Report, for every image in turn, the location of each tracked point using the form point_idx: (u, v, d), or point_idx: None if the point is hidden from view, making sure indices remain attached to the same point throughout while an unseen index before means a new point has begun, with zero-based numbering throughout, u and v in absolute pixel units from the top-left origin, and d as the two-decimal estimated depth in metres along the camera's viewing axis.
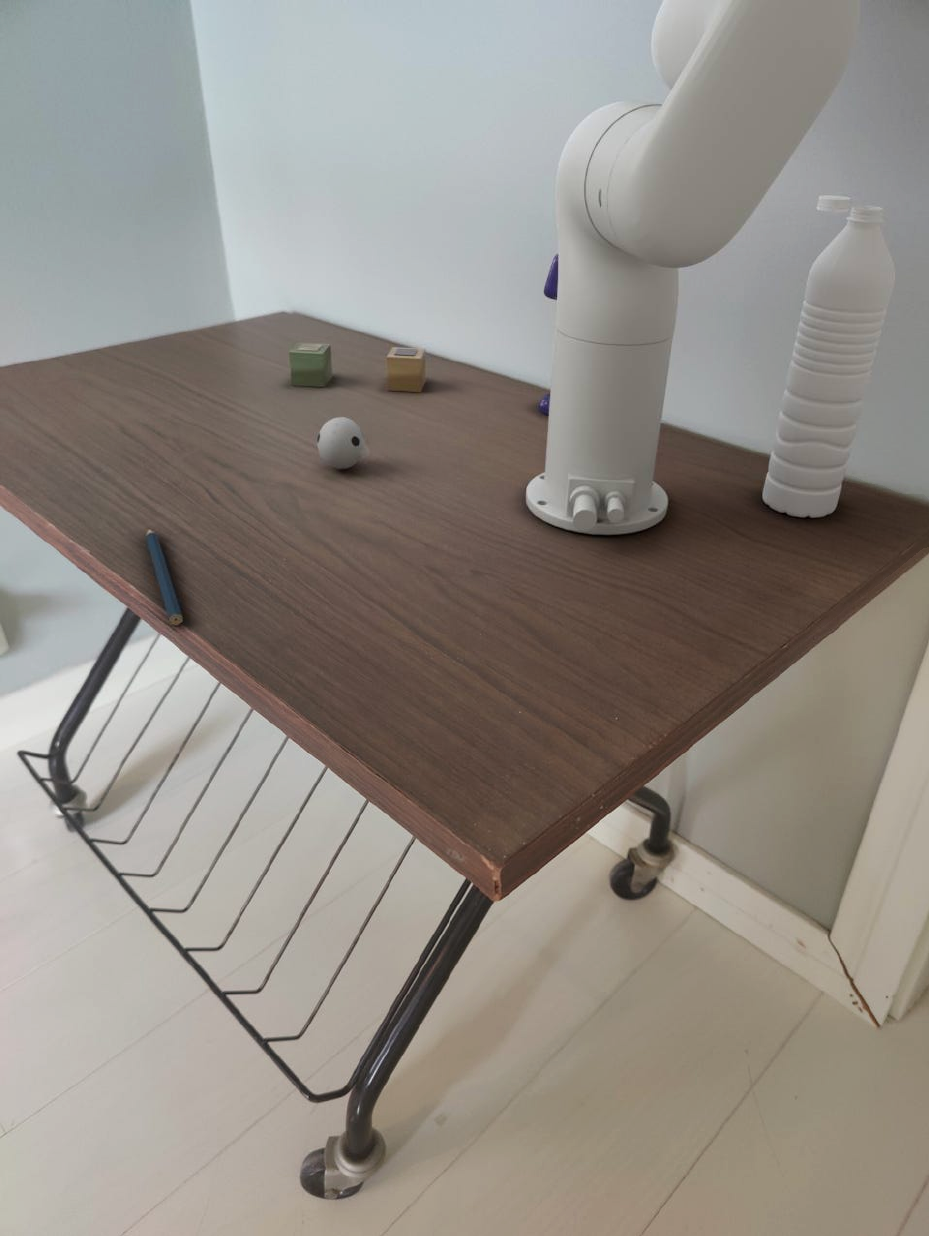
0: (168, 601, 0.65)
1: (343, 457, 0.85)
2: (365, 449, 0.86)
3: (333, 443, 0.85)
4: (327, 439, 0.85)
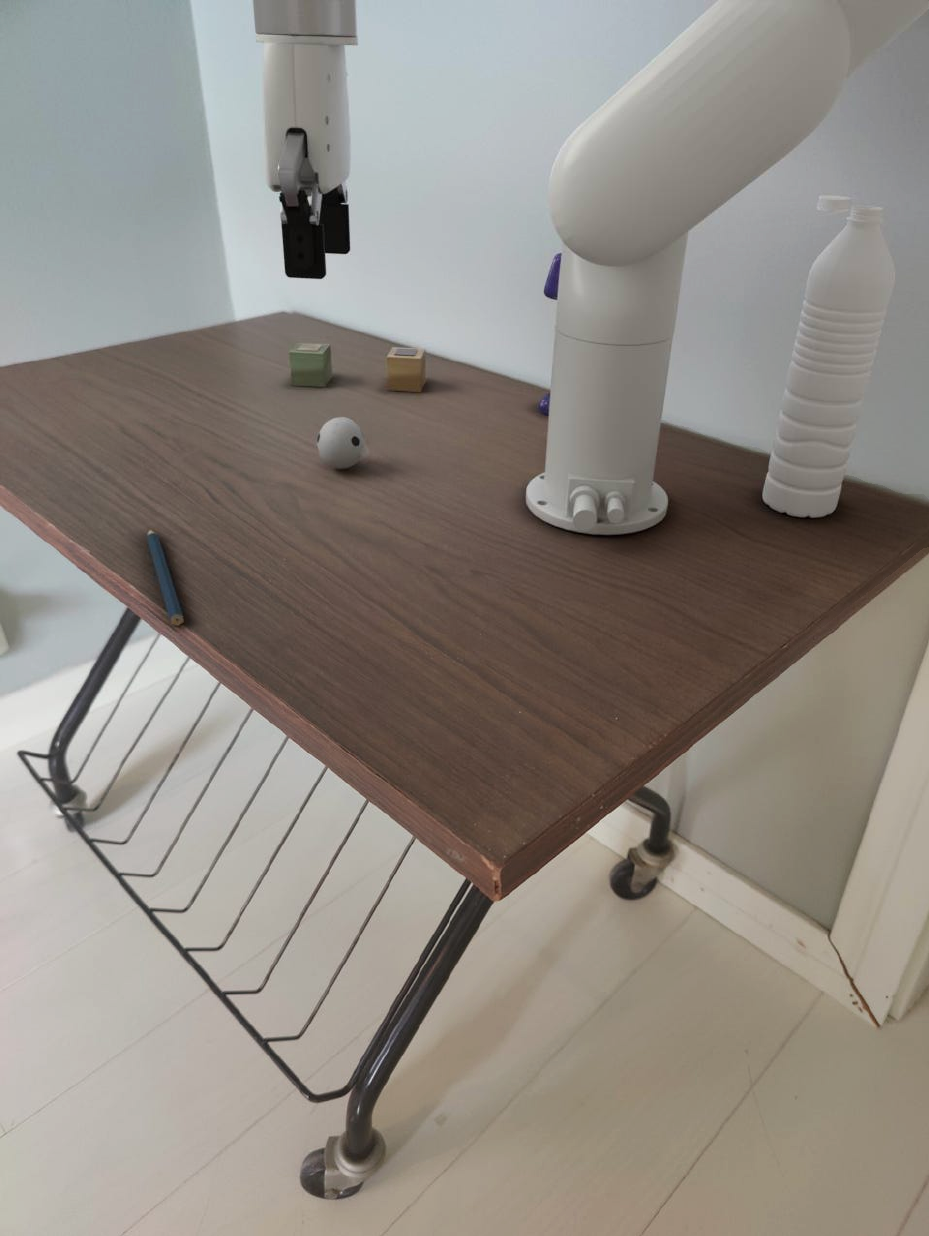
0: (169, 601, 0.66)
1: (343, 457, 0.85)
2: (365, 449, 0.86)
3: (333, 443, 0.85)
4: (327, 439, 0.85)
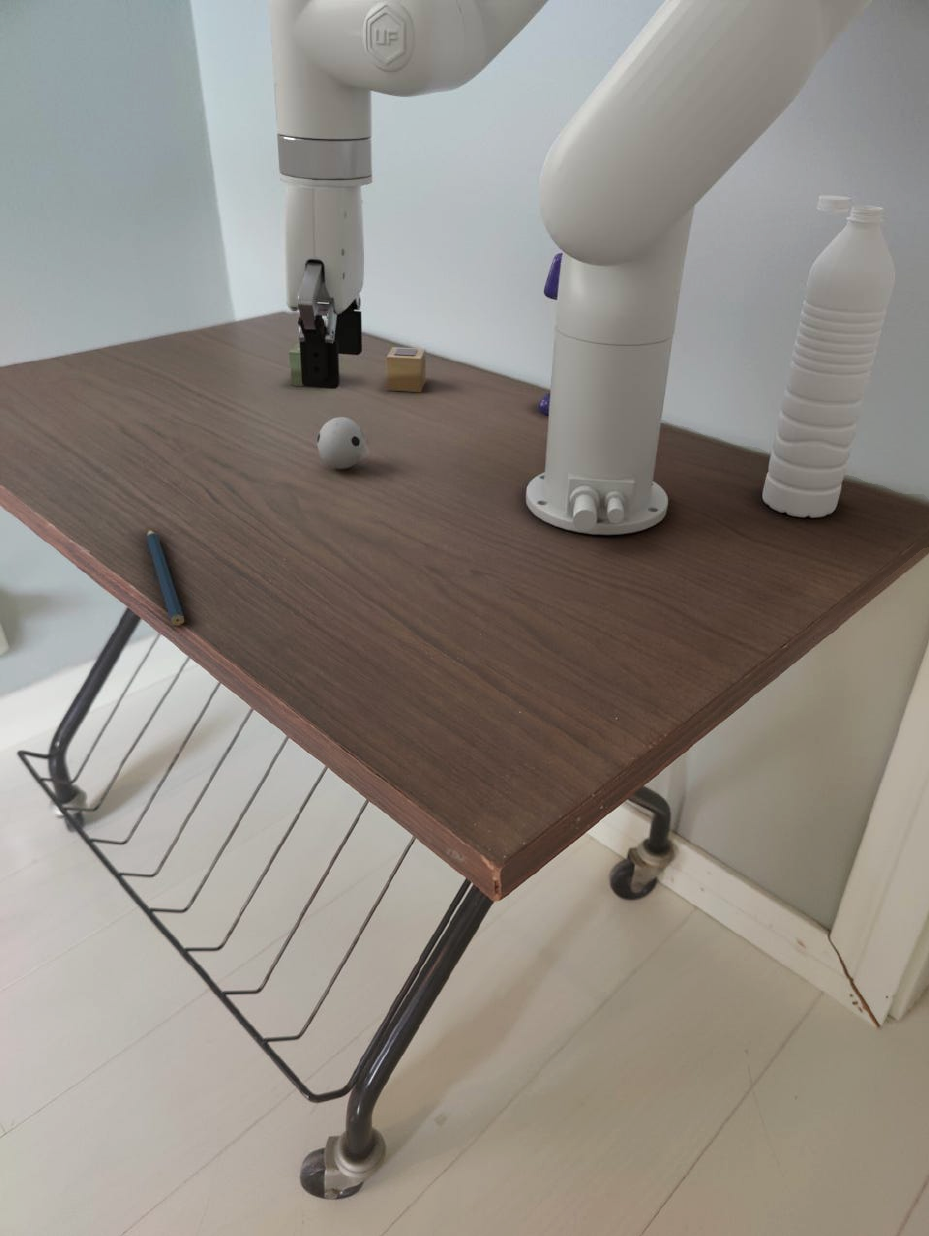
0: (169, 602, 0.66)
1: (343, 457, 0.85)
2: (365, 449, 0.86)
3: (333, 443, 0.85)
4: (327, 439, 0.85)
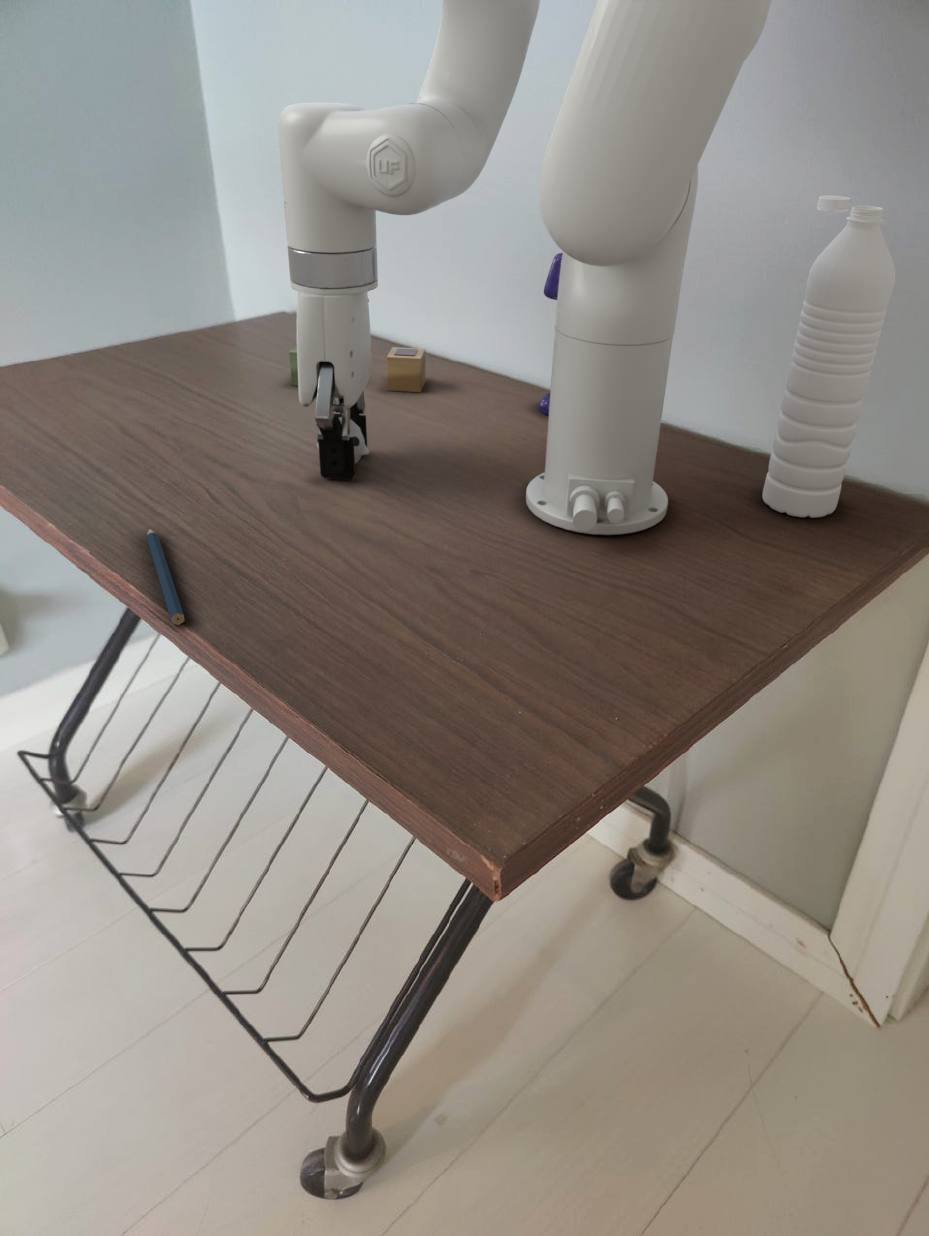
0: (170, 601, 0.66)
1: None
2: (364, 450, 0.86)
3: None
4: None
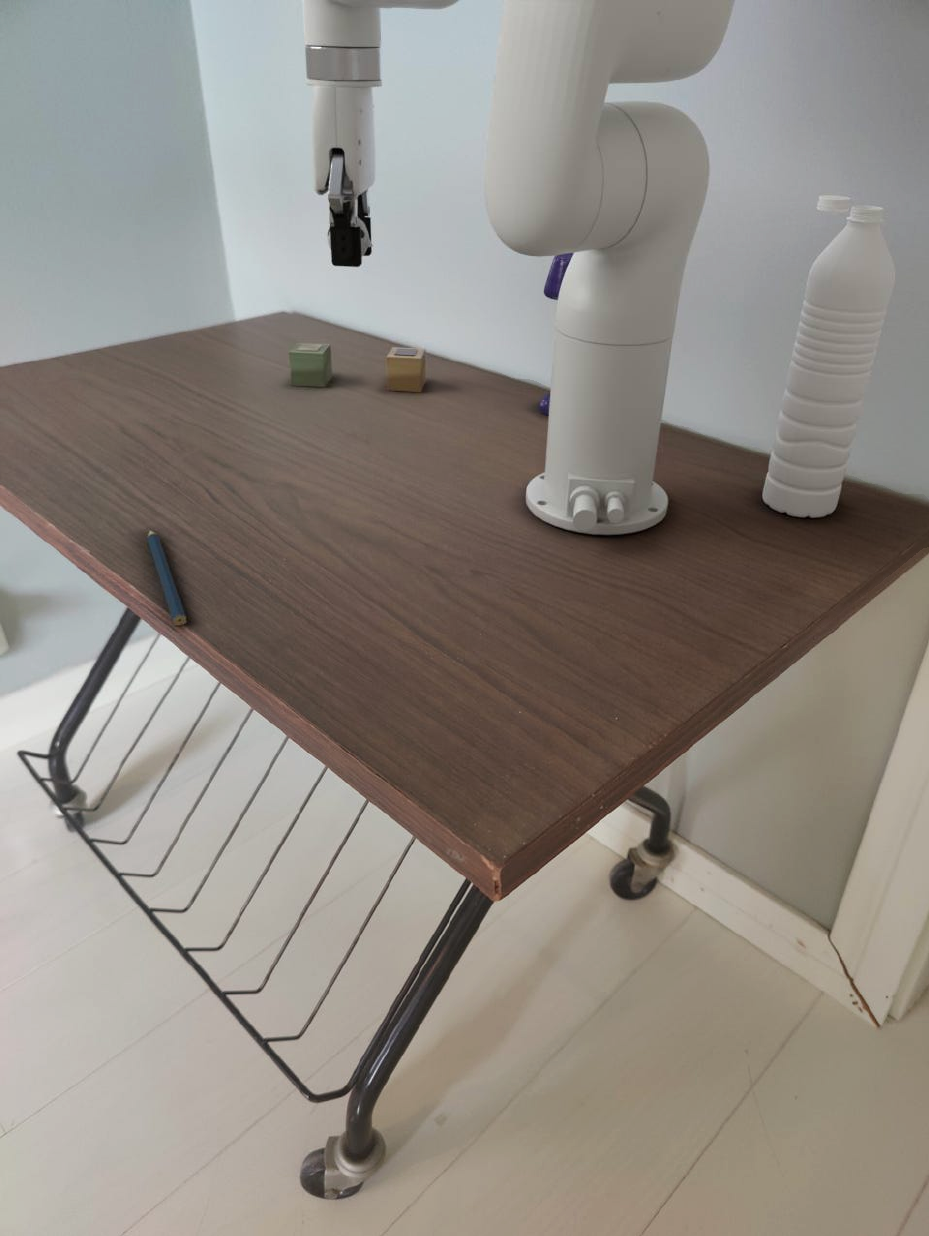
0: (171, 602, 0.66)
1: None
2: (369, 243, 0.99)
3: None
4: None
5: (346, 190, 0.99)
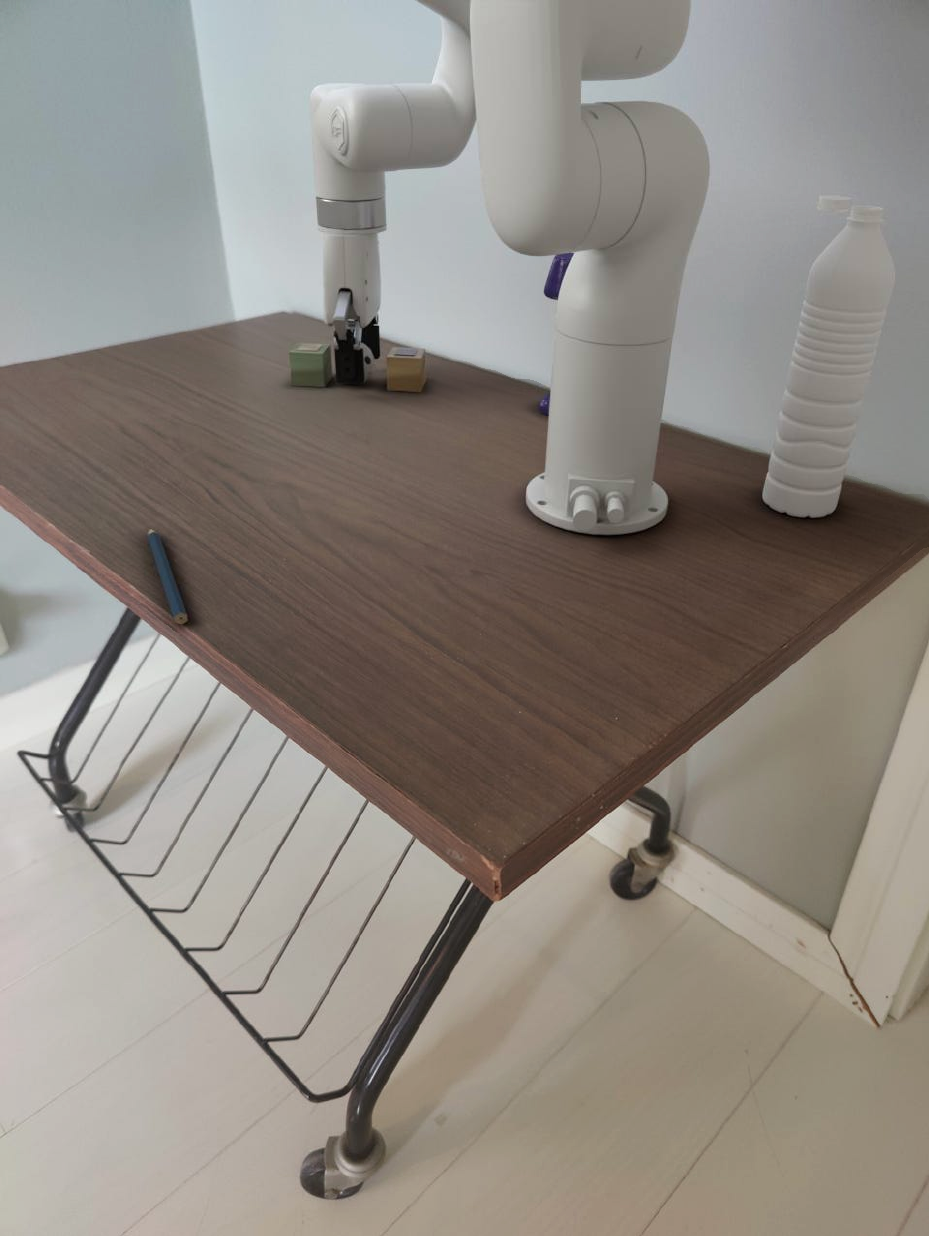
0: (172, 600, 0.66)
1: None
2: (375, 367, 1.08)
3: None
4: None
5: None
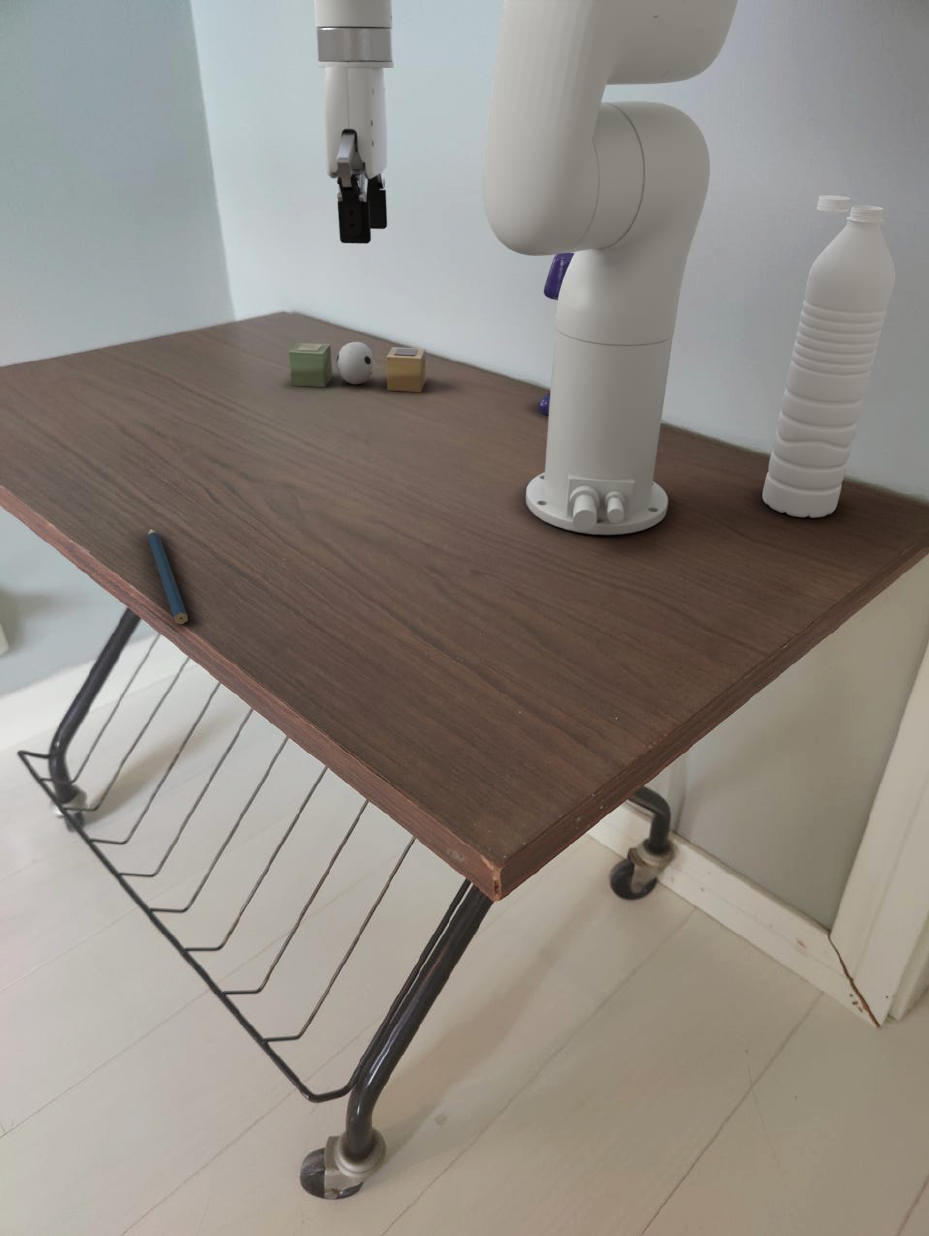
0: (172, 600, 0.66)
1: (357, 372, 1.07)
2: (375, 367, 1.08)
3: (350, 361, 1.06)
4: (345, 358, 1.06)
5: None
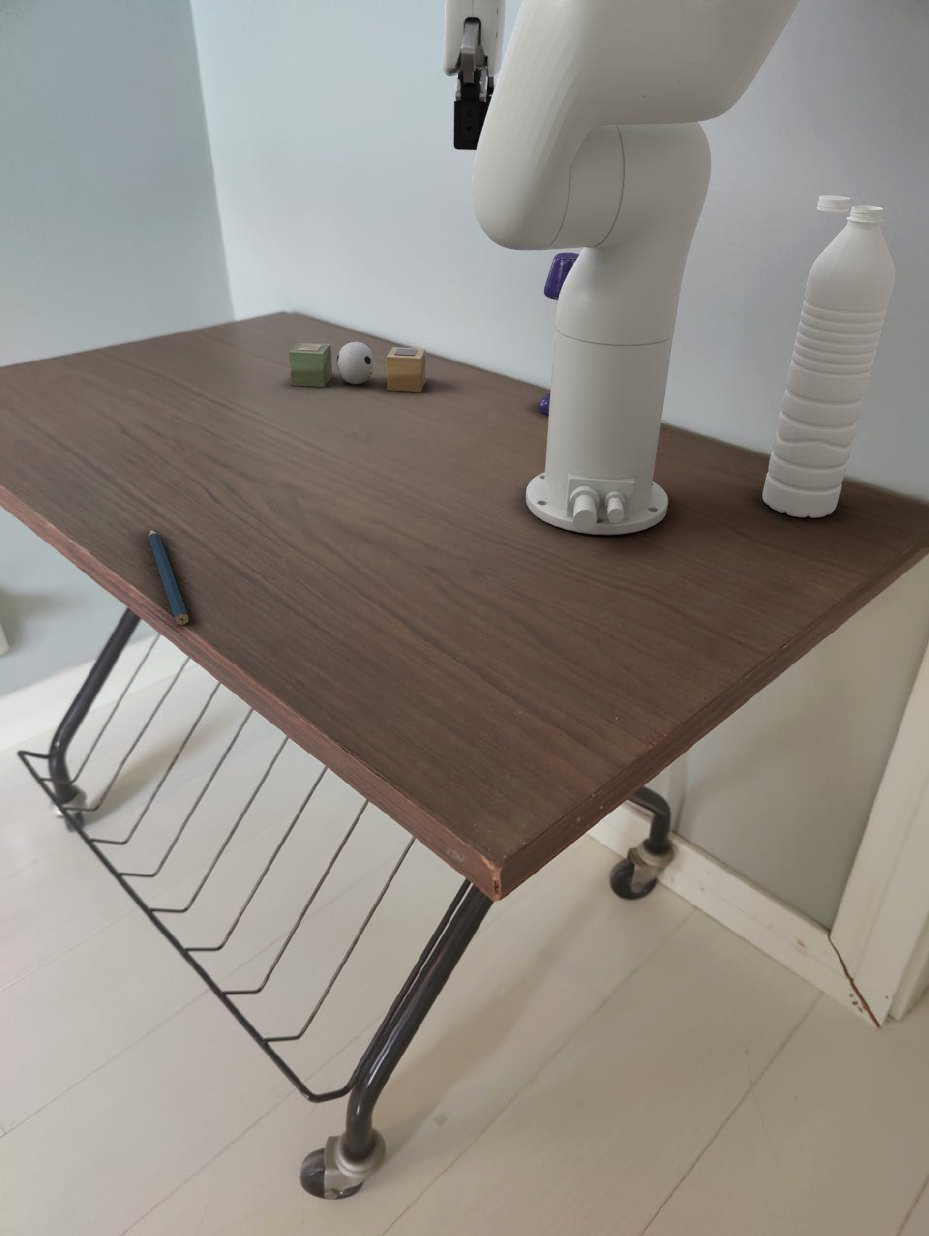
0: (173, 601, 0.66)
1: (357, 372, 1.07)
2: (375, 367, 1.08)
3: (350, 361, 1.06)
4: (345, 358, 1.06)
5: None
